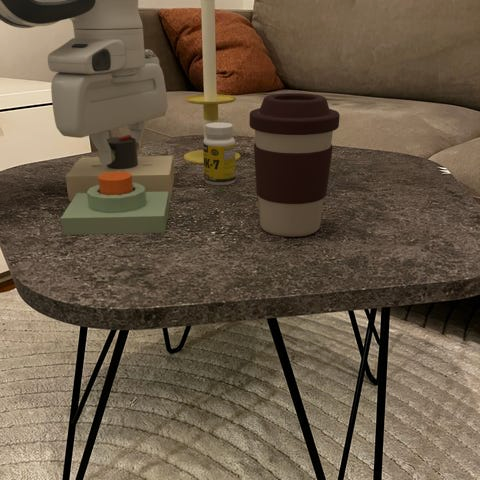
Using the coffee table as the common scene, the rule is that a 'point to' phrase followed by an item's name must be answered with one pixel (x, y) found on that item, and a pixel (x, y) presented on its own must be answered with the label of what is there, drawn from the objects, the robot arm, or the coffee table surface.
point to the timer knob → (123, 152)
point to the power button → (115, 183)
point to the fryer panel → (145, 173)
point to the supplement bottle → (219, 154)
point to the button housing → (116, 212)
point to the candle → (208, 78)
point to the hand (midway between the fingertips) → (121, 159)
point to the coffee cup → (292, 161)
